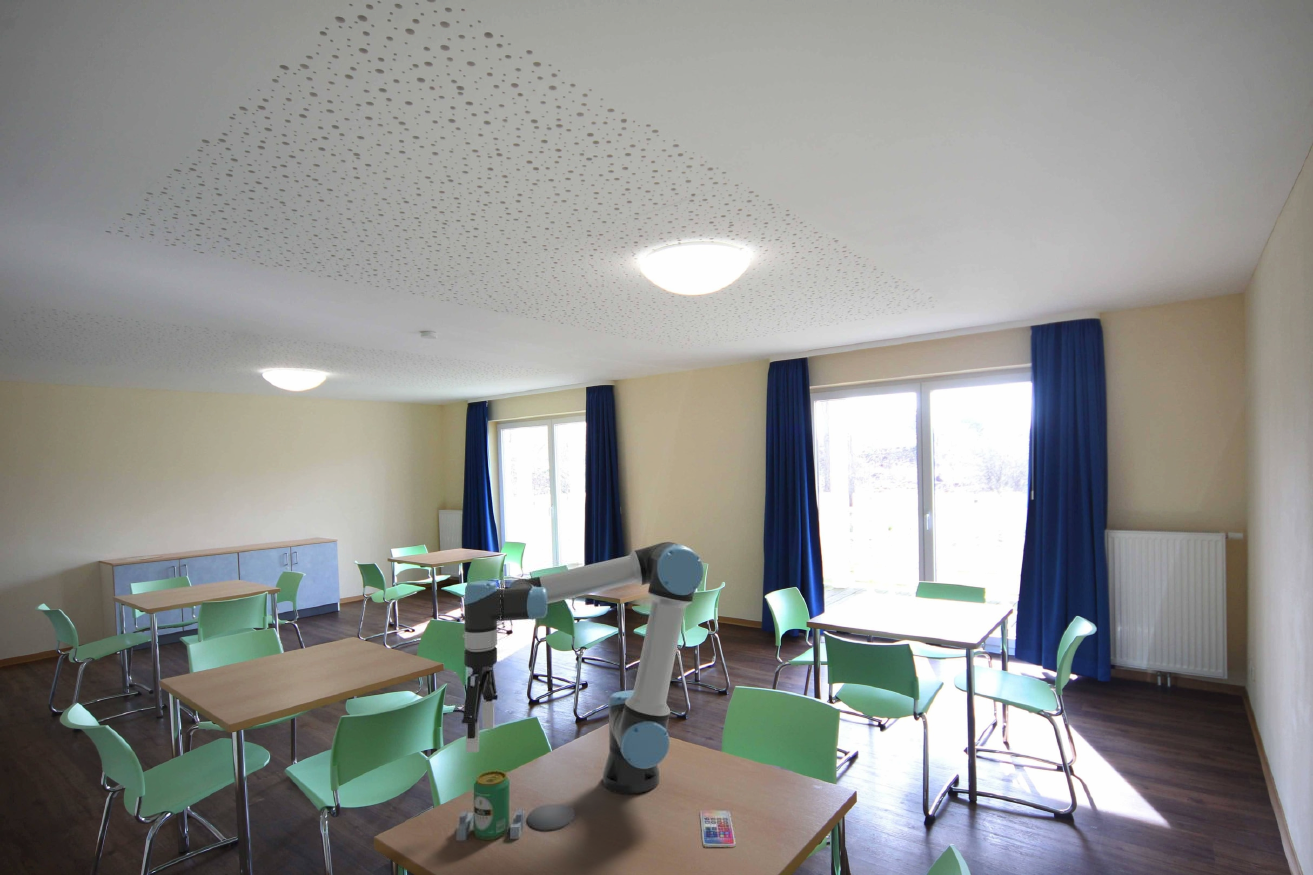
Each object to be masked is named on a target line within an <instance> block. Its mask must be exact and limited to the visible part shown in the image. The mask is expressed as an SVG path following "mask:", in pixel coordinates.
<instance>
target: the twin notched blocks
mask: <svg viewBox="0 0 1313 875" xmlns="http://www.w3.org/2000/svg"><path fill="white" fill-rule="evenodd" d="M525 811H526V810H524V809H523V808H522V809H517V811H515V813H514V816H513V819H512V821H511V824H510V825H509V827H510V828H509V833H510V834H509V839H510V840H514V839H515V840H517V839H520V837H521V835H522V831H523V828H524V824H525V822H526V819H525V818H526V816H525V815H526V813H525ZM473 826H474V812H469V811H468V810H463V811H461V813H460V815H459V823H458V825H457V826H456V827H457V828H456V841H466V840H467V838H468V835H469V834H470V832H471V829H472V828H473Z"/></svg>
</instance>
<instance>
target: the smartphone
mask: <svg viewBox="0 0 1313 875" xmlns="http://www.w3.org/2000/svg"><path fill="white" fill-rule="evenodd" d="M730 816H731V812H730V811H728V810H705V809H704V810H701V811H700V812H699V817H700V818H699V819H700V830H702V831H701V834H702V835H701V839H702V846H703V847H704V846H705V847H704V848H706V847H719V846H722V847H725V846H734V845H735V844H736V837H735V838H734V836H735V832H734V828H733V827H732V826H733V822H731V821H732V816H731V817H730Z"/></svg>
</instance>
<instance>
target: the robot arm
mask: <svg viewBox="0 0 1313 875" xmlns="http://www.w3.org/2000/svg"><path fill="white" fill-rule="evenodd" d="M703 579H704V565H703V561H702V560H701V558H700V556H699V555H698V554H697V553H696V552H695V551H694V550H693V549H691V548H690V547H688V546H685V545H682V544H678V543H676V542H675V543H674V542H673V541H672V542H669V541H664V542H659V543H656V544H652V545H650V546H646V547H644V548H643V547H642V548H639V549H635V550H632V551H631V552H630V554H629V555H626V556H622V557H617V558H612V559H609V560H604V561H600V562H595V563H591V564H587V565H583V566H578V567H572V568H569V569H565V570H561V571H556V572H553V573H548V574H544V575H543V574H542V575H539V576H536V577H535V576H533V577H531V578H517V579H515V580H513V581H512V582H511V584H510V585H509V586H508V588H499V587H498V585H497V582H496V581H494V580H476V581H471V582H469V583H467V585H465V590H464V602H463V604H464V605H463V607H464V608H463V610H464V612H463V613H464V614H463V615H464V617H463V618H464V620H463V621H464V633H462V638H464V648H465V650H464V655H463V656H464V659H463V660H464V666H465V668H466V667H467V668H471V670H472V672H471V674H470V675H469V676H467V680H466V692H465V693H466V694H465V701H464V709H463V715H462V716H463V717H462V718H461V723H462V724H465V753H479V752H480V721H479V719H478V718H479V713H480V708H481V707H482V709H481V710H482V714H481V716H482V719H481V720H482V730H494V729H495V701H497V700H498V697H499V696H498V693H497V687H496V686H497V685H496V680H495V678H496V677H495V673H494V666H495V665H496V664H497V662H498V647H496V646H497V645H498V622H504V621H506V622H507V621H522V620H523V621H524V620H536V619H544V618H545V617H546V616H547V615H548V604H552V603H556V602H561V601H564V600H565V601H566V600H569V599H573V598H577V597H581V596H582V597H583V596H586V595H590V594H594V593H597V592H598V593H599V592H603V591H607V590H610V589H615V588H619V587H624V586H628V585H631V584H636V585H638V586H643V585H648V584H649V585H648V591H647V594H648V595H649V597H650V599H651V604H650V610H649V614H648V620H647V623H646V624H647V625H646V628H645V633H644V634H645V635H644V638H643V639H644V640H643V643H642V649H641V653H640V658H639V664H638V667H637V668H638V669H637V672H636V677H635V681H634V687H633V689H632V690H630V689H629V690H622V691H617V692H614V693H612V694H610V696H609V699H608V716H609V717H608V720H609V722H608V726H609V728H608V729H609V733H608V734H609V736H608V738H609V740H608V741H609V744H608V745H609V746H608V747H609V750H608V751H609V752H608V755H607V759H606V762H605V765H604V769H603V773H602V783H603V785H604V787H605V788H606V789H607V790H609V791H612V792H615V793H618V794H625V795H629V794H630V795H631V794H641V793H645V792H649V791H651V790H652V789H654V788H655V787H657V786H658V785H659V783H660V769H659V766H658V765H659V764H660V763H661V762H662V761H663V760H664V759H665V757H666V756H667V754H668V752H669V749H670V735H669V734H670V733H668V726H669V720H670V714H671V710H670V708H669V706H668V704H667V700H668V696H669V695H668V694H669V690H670V685H671V679H672V675H673V669H674V664H675V659H676V654H677V650H678V644H679V640H680V634H681V629H682V625H683V619H684V614H685V609H686V607H688V606H690V605H691V604H692V603H693V599H694V594H695V591H696V590H697V589H698V588H699V586H700V585H701V583H702V580H703ZM482 698H483V701H482ZM481 703H482V706H481Z"/></svg>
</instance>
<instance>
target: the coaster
mask: <svg viewBox="0 0 1313 875" xmlns="http://www.w3.org/2000/svg"><path fill="white" fill-rule="evenodd" d="M574 818H575V811H574V810H573V808H572V807H570V806H568V805H566V804H560V803H550V804H544V805H540V806H538V807H536V808H534V809H532V810H531V811H530V812H529V813H528V815H527V824H528V825H529V827H531V828H533V829H535V830H538V831H546V832H548V831H554V830H559V829H562V828H565V827H567V826H569V825H570V824H572V822H573V821H574Z"/></svg>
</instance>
